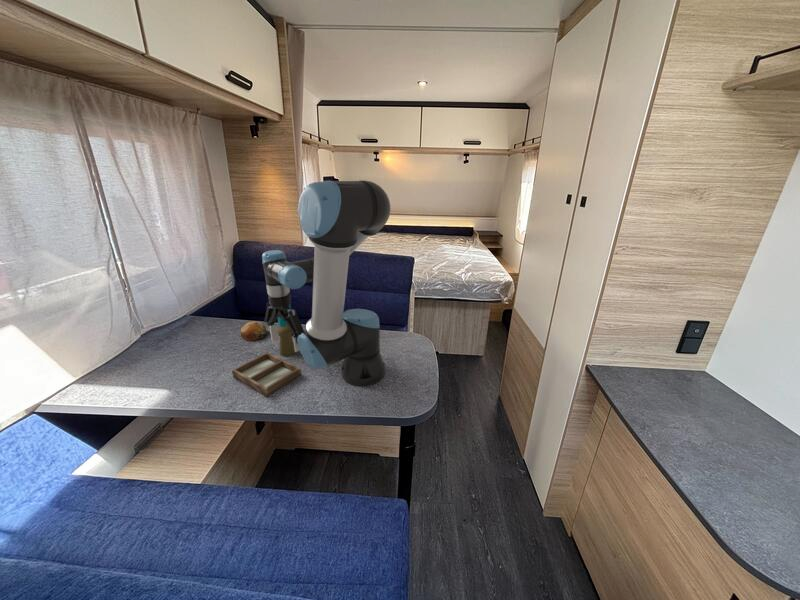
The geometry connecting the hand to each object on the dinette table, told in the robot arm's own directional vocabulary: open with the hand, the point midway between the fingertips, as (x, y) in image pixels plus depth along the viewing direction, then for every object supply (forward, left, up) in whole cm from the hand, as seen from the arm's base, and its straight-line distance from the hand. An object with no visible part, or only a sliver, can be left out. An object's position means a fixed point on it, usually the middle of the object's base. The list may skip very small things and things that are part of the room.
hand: (286, 344), depth 121 cm
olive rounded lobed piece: (0, 0, -3) cm, 3 cm away
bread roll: (+23, -1, -4) cm, 23 cm away
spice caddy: (-7, +14, -3) cm, 16 cm away
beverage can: (+13, -10, -3) cm, 17 cm away
